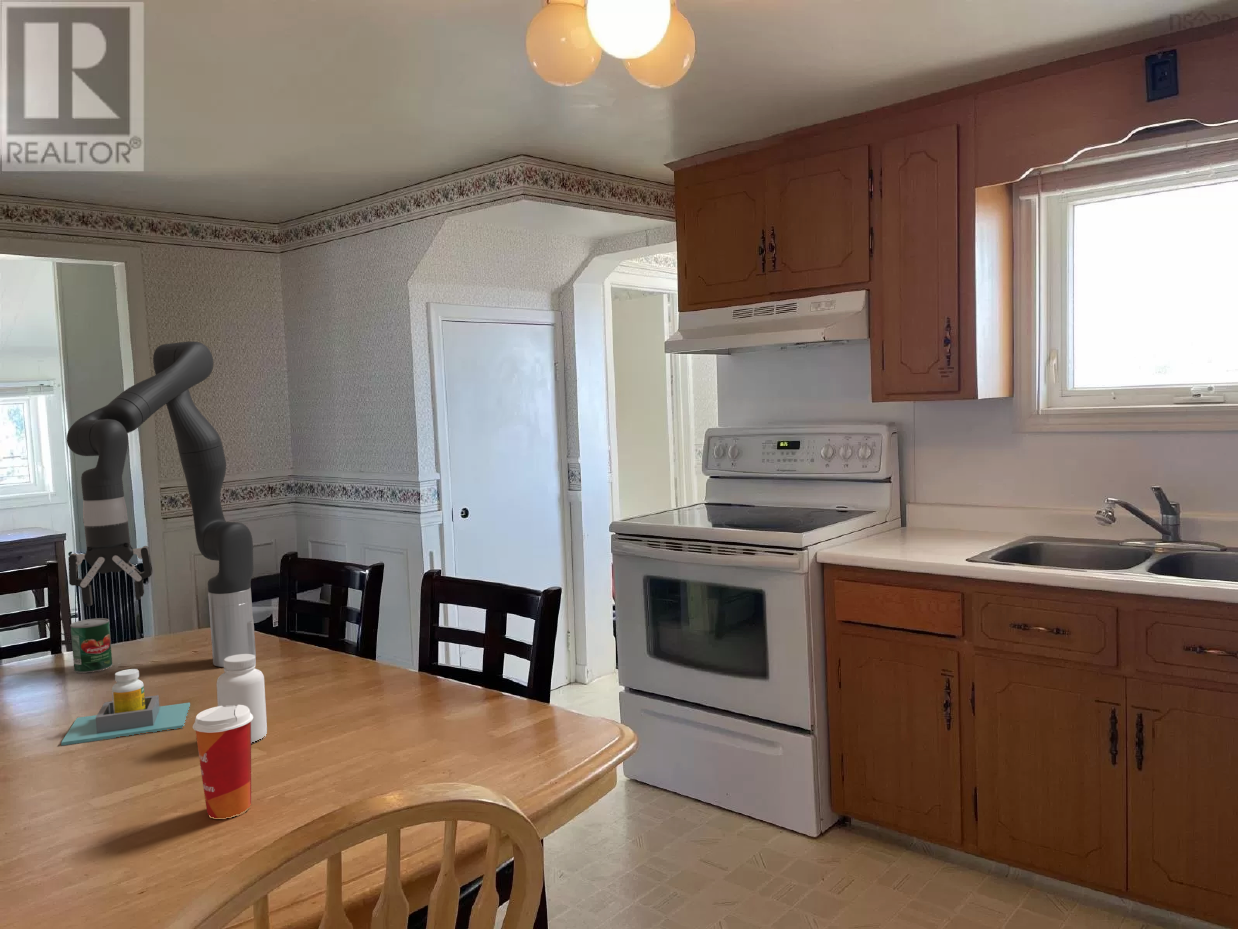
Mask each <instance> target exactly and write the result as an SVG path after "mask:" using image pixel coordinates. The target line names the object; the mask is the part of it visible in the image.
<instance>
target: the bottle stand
mask: <svg viewBox="0 0 1238 929" xmlns="http://www.w3.org/2000/svg"><path fill="white" fill-rule="evenodd" d="M144 697H145V709H144V710H137V711H129V712H122V713H115V714H114V710H113V700H111V701H104V703H103V704H102V706H101V708H100V709H99V711H98V713H97V714H96V715H95V714H94V715H89V716H88V715H86V716H78V717H77V718H76V719H75V720H74V722H73V724H72V725H71V727H70V728H69V730H68V731H67V733H66V734H65V736H64V737H63V739H62V740H61V747H62V746H70V745H76V744H83V743H89V742H97V741H103V739H105V740H110V739H111V740H112V739H117V738H116V737H119V738H121V737H120V736H126V737H130V736H129V735H132V736H135V735H134V734H139V735H141V734H140V733H146V732H153V733H158V732H157V731H160V732H163V731H162V730H167V729H174V730H178V729H177V728H181V729H183V728H182V727H183V726H184V727H185V724H186V721H185V720H187V718H186V716H187V717H188V714H189V711H188V710H190V708H191V702H184V703H176V704H169V705H168V704H167V705H160V699H159V698H160V696H159V694H156V695H150V696H149V695H148V696H144ZM189 707H190V708H189ZM187 713H188V714H187ZM184 723H185V724H184ZM167 731H168V730H167ZM146 734H147V733H146Z"/></svg>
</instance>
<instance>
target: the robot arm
mask: <svg viewBox="0 0 1238 929" xmlns="http://www.w3.org/2000/svg"><path fill="white" fill-rule="evenodd" d="M152 364H153V369H154V375H152V376H150V377H148V378H146V379H143V380H142V381H138V382H137V383H135V384H134V385H132V386H130V387H128V388H127V389H125V390H124V391H122V392H121V393H120V394H118V395H117V396H116V397H115V398H114V399H112V400H111V401H110V402H109V403H108V404H106V405H105V406H102V407H100V408H97V409H95V410H94V411H91V412H90V413H88V414H85V415H83V416H82V417H80V418H79V419H78V420H76V421H75V422H73V423H72V425H71V426H70V427H69V430H68V431H67V434H66V443H67V446H68V449H69V450H70V451H71V452H72V453H74V454H76V455H78V456H82V457H96V456H97V457H98V459H97V462H96V465H95V467H93V468H89V469H87V470H84V471H83V472H82V473H81V477H80V478H81V480H80V483H81V492H82V494H81V495H82V500H83V501H82V502H83V505H82V514H83V515H82V517H83V518H82V522H83V525H84V534H85V546H86V551H85V553H75V552H73V553H71V554H70V555H69V556H68V583H69V585H70V586H72V587H73V586H76V587H80V588H81V596H82V597H81V598H82V602H83V604H86V606H87V607H91V606H92V605H93V594H92V585H90V582H91V581H92V580H93V578H94V577H95V576H96V574H97V573H100V574H101V575H102V574H108V573H120V572H121V571H124V572H125V573H126V574H128V575H129V576H130V577H131V578H133V580H134V593H135V600H136V601H140V600H141V598H142V597H144V594H145V587H144V580H145V579H147V578H150V577H151V576H152V574H153V565H152V560H151V559H152V558H151V554H150V548H149V546H147V545H144V546H142V547H137V548H133V547H132V545H131V539H130V538H131V536H130V529H129V527H130V526H129V518H128V510H127V509H128V508H127V505H126V499H125V493H124V492H125V491H124V484H123V482H124V481H123V474H124V473H123V472H124V467H125V462H126V458H127V452H128V446H129V437H128V434H129V433H132V432H134V431H136V430H137V429H138V428H139V427H140V426H142V425H143V424H144V423H145V422H146V421H147V420H148V419H149V418H150V417H151V416H153V415H154V414H155V413H156V412H157V411H158V410H160V409H161V408H162V407H164V406H166V408H167V411H168V415H169V418H170V421H171V425H172V429H173V432H174V433H173V434H174V436H175V441H176V445H177V450H178V454H179V459H180V463H181V466H182V471H183V473H184V477H185V481H186V486H187V491H188V495H189V498H190V503H191V510H192V516H193V524H194V532H195V539H196V543H197V547H198V550H199V552H200V553H201V555H202V556H203V557H204V558H205V559H208V560H210V561H216V562H217V561H218V573H217V574H216V575H215V576H212V577H211V578H209V580H208V581H207V592H208V593H207V595H208V596H207V597H208V607H209V608H208V609H209V610H208V611H209V622H210V623H209V624H210V638H211V650H212V651H211V652H212V664H213V665H214V666H216V667H221V668H224V659H225V658H227V657H229V656H233V655H238V654H252V655H254V656H255V658H257V657H256V656H257V654H256V639H255V625H254V624H255V623H254V617H253V616H254V615H253V603H252V589H251V587H252V586H251V585H252V584H251V581H252V578H253V575H254V541H253V537H252V536H253V535H252V533H251V530H250V529H249V527H248V526H247V525H246V524H244V523H241V522H235V521H227V520H226V519H225V515H224V511H223V508H222V507H223V506H222V502H221V493H222V487H223V484H224V480H225V476H226V473H227V472H226V471H227V460H226V455H225V451H224V446H223V441H222V439H221V437H220V434H219V433H218V431H217V430H216V428H215V427H214V426H213V425H212V423H211V422H210V421H209V420H208V419H207V418H206V417H205V416H204V415H203V414H202V413H201V411H200V410H199V408H197V406H196V404H195V403H194V401H193V399H192V395H191V392H190V389H191V388H193V387H194V386H196V385H198V384H200V383H202V382H203V381H205V380H207V379H208V378H209V377H210V376H211V374H212V372H213V370H214V357H213V354H212V352H211V350H210V349H209V347H208V346H207V345H205V344H204V343H202V342H200V341H193V340H192V341H181V342H172V343H164V344H160V345H159V346H157V347H156V348H155V349H154V352H153V356H152ZM134 555H136V557H137V558H138V559H142V566H143V571H140V570H139V569H137V567H136V566H135V565H134V564H133V563H131V560H132V557H133V556H134ZM83 560H85V561H86V563H88V565H90V566H91V568H90V569H89V571H88V572H87V574H85V577H84V578H79V566H80V565H82V562H83Z"/></svg>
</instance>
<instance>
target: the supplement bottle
mask: <svg viewBox="0 0 1238 929" xmlns="http://www.w3.org/2000/svg"><path fill="white" fill-rule="evenodd" d="M139 678H140V671H139V670H138V668H131V669H129V668H128V669H124V670H119V671H117V672H115V673H114V680H115V682H116V683H114V684H113V685H112V687H111V696H112V701H113V710H114V714H115V713H122V712H129V711H137V710H144V709H145V697H146V696H145V686H144V682H143V681H142V680H140V679H139Z"/></svg>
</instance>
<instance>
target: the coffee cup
mask: <svg viewBox="0 0 1238 929" xmlns="http://www.w3.org/2000/svg"><path fill="white" fill-rule="evenodd" d="M252 719H253V715H252V714H251V713H250V710H249V708H248V707H247V706H244V705H238V706H235V705H226V707H223V706H218V705H217V706H213V707H210V708H207V709H204V710H202V711H200V712H198V713H197V715H196V716H195V720H194V723H193V724H192V729H193V730H194V731H195V735H196V736H195V737H196V742H197V750H198V759H199V765H200V772H201V779H202V787H203V795H204V801H205V807H206V813H208V814H207V816H208V815H210V816H211V817H214V818H226V817H231V816H233V815H236V814H240V813H241V812H243V811H245V810H246V809H247V808H249V807H250V805H251V806H252V743H251V721H252Z"/></svg>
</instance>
